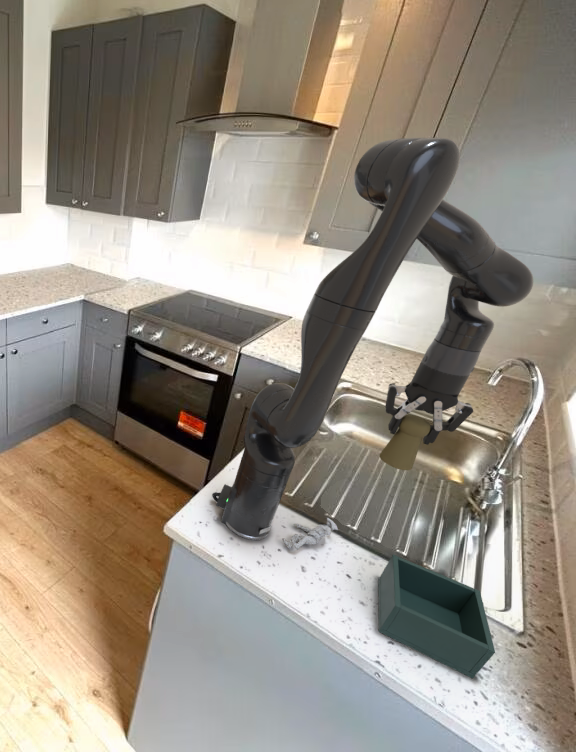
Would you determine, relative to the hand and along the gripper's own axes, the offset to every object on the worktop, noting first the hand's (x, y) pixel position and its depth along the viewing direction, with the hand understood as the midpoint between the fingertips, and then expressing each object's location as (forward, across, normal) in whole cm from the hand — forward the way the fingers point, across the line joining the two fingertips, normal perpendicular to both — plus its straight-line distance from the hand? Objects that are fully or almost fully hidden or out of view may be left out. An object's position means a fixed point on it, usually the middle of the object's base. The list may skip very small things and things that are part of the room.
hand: (408, 437), depth 90 cm
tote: (+21, -8, +27) cm, 36 cm away
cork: (+7, 0, 0) cm, 7 cm away
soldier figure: (+22, +11, +19) cm, 31 cm away
